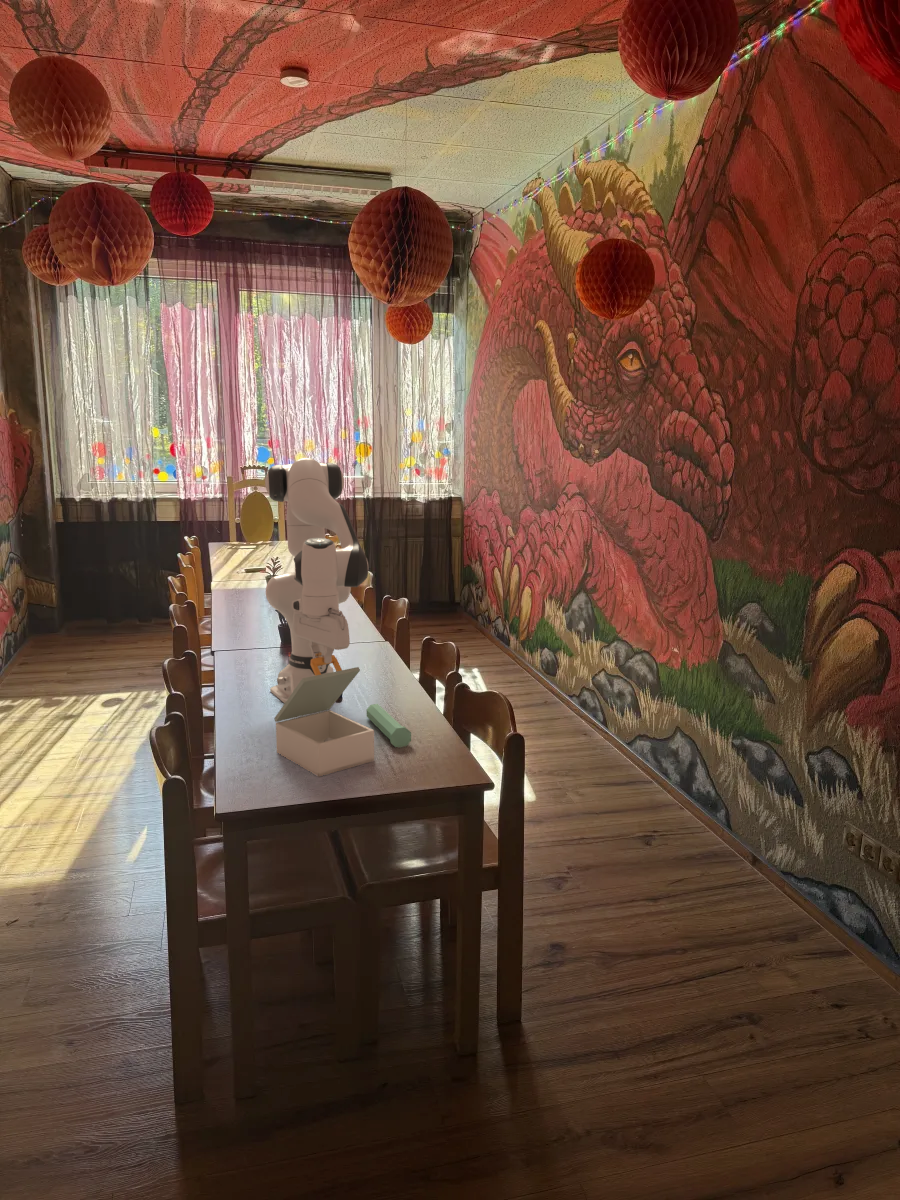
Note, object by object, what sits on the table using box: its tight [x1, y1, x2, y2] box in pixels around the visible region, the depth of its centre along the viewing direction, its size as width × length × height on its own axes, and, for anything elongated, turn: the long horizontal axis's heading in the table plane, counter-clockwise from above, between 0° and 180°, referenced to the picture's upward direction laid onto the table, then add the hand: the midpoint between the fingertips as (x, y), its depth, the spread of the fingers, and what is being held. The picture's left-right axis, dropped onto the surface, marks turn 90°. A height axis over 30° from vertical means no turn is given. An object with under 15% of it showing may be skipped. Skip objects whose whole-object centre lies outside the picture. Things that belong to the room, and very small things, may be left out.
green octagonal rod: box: [366, 703, 412, 748], centre depth 234 cm, size 6×6×25 cm
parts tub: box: [275, 709, 375, 778], centre depth 215 cm, size 20×16×8 cm
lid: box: [274, 654, 361, 723], centre depth 217 cm, size 20×16×6 cm
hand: (321, 660), depth 212 cm, fingers open, 3 cm apart
